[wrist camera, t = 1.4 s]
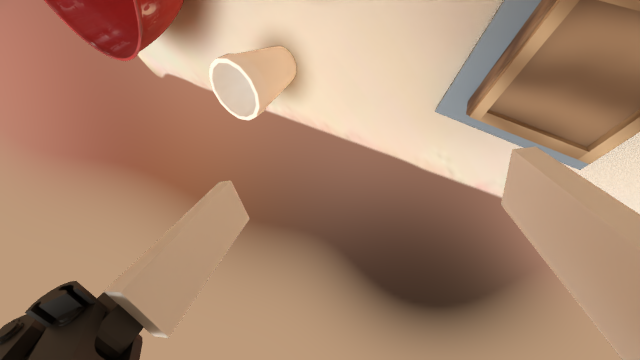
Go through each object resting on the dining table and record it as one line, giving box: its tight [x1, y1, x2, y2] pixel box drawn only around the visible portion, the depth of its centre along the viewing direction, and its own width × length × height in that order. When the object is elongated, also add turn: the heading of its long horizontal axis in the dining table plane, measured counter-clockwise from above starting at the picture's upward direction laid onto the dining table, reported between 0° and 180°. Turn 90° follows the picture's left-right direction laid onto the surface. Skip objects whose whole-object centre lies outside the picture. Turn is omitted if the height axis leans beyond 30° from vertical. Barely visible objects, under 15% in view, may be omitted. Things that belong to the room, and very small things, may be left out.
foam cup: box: [209, 46, 296, 120], centre depth 38 cm, size 10×9×13 cm
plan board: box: [435, 0, 588, 170], centre depth 25 cm, size 20×20×1 cm
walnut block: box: [466, 0, 640, 164], centre depth 23 cm, size 14×14×5 cm
